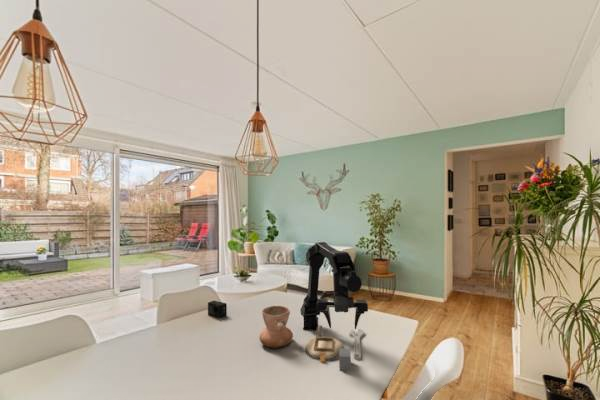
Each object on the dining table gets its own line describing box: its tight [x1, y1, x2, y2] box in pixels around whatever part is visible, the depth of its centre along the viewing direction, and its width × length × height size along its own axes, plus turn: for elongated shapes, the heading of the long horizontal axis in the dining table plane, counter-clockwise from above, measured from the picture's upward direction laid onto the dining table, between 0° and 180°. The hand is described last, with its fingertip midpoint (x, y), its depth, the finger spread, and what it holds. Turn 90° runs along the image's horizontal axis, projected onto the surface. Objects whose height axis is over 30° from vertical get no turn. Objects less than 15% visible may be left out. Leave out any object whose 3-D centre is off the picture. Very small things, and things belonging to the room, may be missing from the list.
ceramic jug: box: [259, 305, 294, 349], centre depth 120 cm, size 18×14×14 cm
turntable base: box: [304, 347, 339, 363], centre depth 111 cm, size 16×17×2 cm
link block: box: [338, 347, 352, 372], centre depth 100 cm, size 4×6×5 cm, turn 170°
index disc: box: [305, 324, 344, 359], centre depth 112 cm, size 15×15×6 cm
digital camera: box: [207, 300, 228, 319], centre depth 152 cm, size 10×5×7 cm, turn 59°
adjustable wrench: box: [348, 328, 365, 361], centre depth 117 cm, size 25×6×2 cm, turn 164°
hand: (342, 328), depth 102 cm, fingers open, 9 cm apart
